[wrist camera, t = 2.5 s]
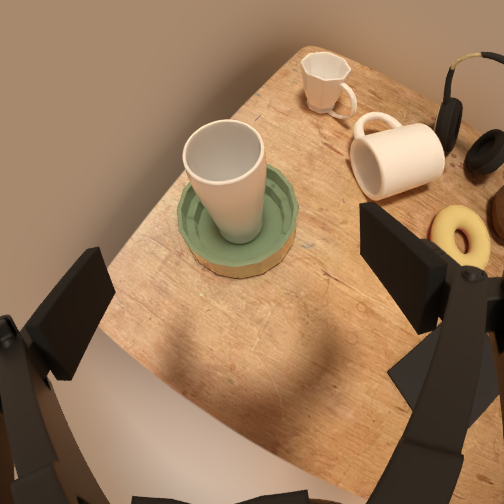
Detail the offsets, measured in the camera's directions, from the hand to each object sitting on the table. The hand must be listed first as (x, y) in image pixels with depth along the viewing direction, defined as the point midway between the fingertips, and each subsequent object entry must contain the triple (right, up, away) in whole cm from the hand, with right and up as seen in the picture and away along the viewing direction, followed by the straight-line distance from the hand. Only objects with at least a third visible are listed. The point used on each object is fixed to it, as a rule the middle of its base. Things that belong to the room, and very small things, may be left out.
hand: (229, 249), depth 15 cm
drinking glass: (0, +3, +24) cm, 24 cm away
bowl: (0, +3, +24) cm, 24 cm away
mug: (+19, +12, +26) cm, 34 cm away
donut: (+28, +1, +21) cm, 35 cm away
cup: (+12, +21, +30) cm, 38 cm away
